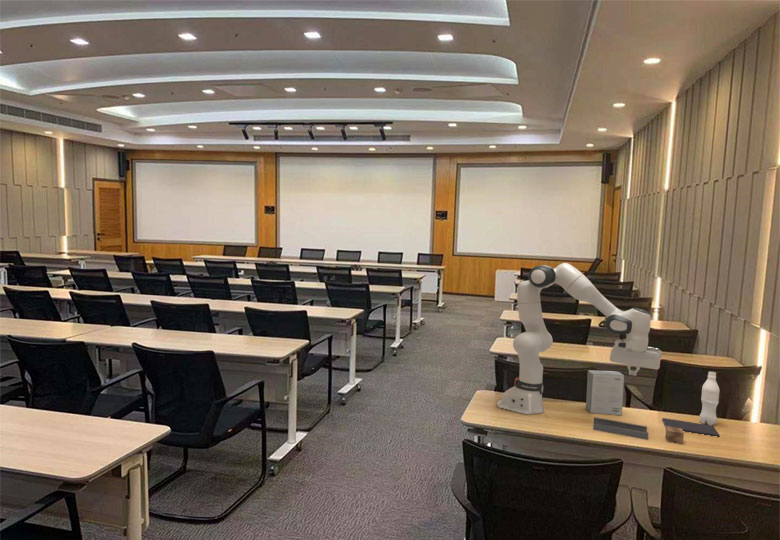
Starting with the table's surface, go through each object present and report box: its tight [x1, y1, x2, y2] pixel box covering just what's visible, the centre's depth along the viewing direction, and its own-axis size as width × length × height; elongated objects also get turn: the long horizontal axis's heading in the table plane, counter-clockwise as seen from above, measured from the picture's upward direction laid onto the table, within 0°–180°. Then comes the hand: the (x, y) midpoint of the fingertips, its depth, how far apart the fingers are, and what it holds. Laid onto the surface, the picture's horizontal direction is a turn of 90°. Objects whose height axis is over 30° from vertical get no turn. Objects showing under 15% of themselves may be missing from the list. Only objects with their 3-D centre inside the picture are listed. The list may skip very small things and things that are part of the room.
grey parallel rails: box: [592, 416, 649, 441], centre depth 224 cm, size 22×10×2 cm, turn 66°
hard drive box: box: [585, 369, 625, 416], centre depth 248 cm, size 16×8×20 cm, turn 84°
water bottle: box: [699, 371, 721, 426], centre depth 238 cm, size 7×7×25 cm
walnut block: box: [665, 426, 685, 445], centre depth 216 cm, size 6×6×5 cm
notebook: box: [661, 417, 720, 438], centre depth 232 cm, size 13×2×21 cm
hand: (632, 375), depth 224 cm, fingers closed
